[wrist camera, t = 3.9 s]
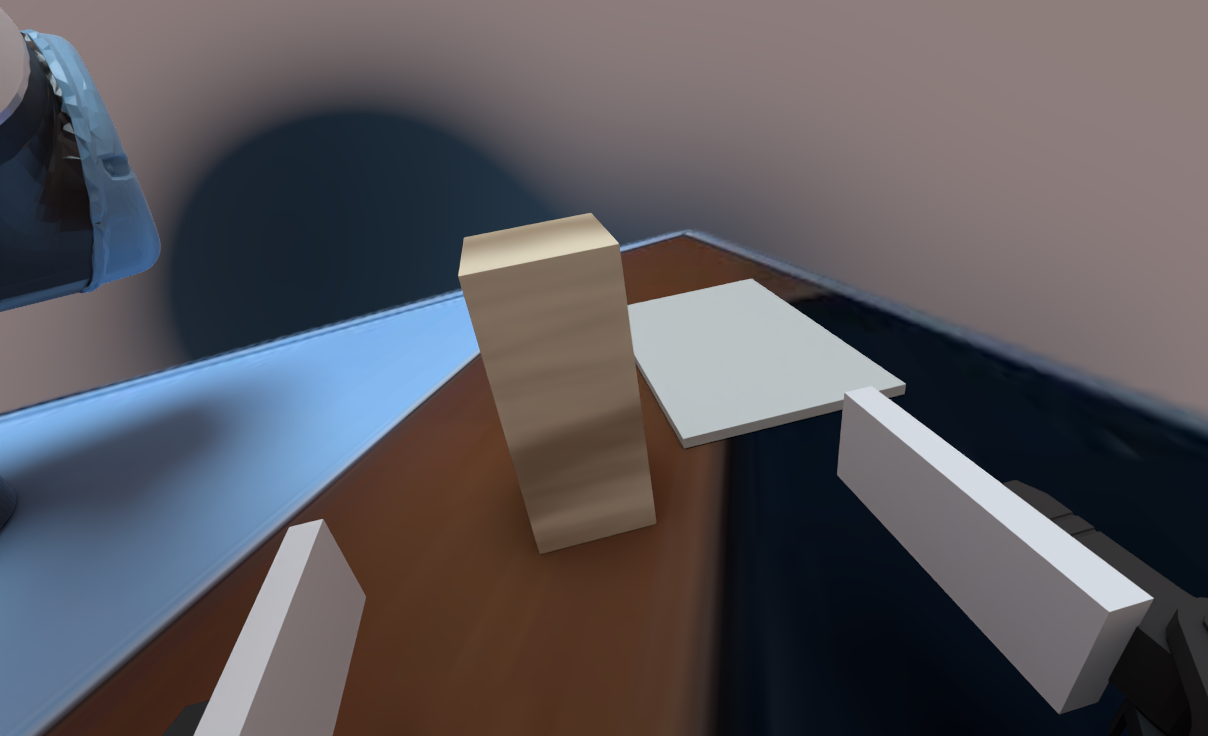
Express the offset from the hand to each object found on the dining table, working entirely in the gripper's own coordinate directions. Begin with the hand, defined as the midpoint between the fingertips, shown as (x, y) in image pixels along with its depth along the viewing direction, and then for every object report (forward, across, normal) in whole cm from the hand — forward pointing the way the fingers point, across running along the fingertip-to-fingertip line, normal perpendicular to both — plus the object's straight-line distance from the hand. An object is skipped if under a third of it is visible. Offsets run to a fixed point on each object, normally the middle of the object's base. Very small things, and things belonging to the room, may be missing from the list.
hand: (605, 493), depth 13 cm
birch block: (+8, 0, -7) cm, 11 cm away
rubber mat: (+19, +11, -7) cm, 23 cm away
